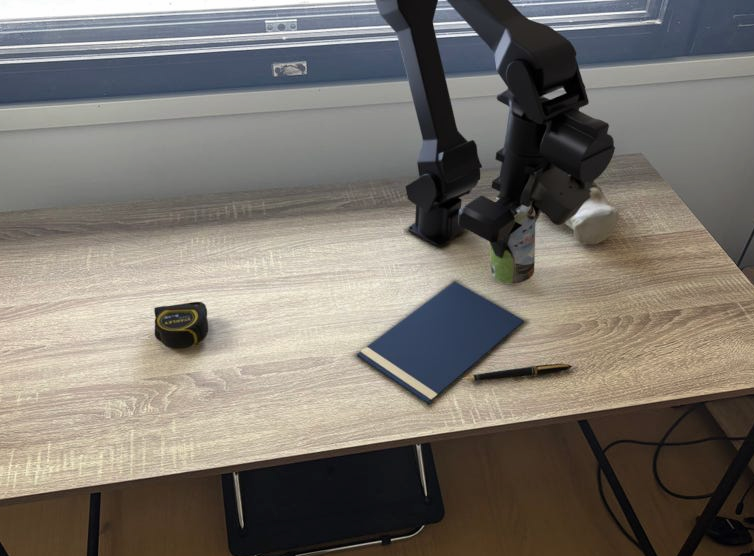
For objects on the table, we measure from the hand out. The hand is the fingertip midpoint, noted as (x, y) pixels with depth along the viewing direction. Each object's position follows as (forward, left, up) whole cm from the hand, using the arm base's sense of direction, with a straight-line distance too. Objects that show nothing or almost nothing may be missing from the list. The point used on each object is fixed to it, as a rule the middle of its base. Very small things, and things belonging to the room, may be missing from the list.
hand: (510, 247), depth 100 cm
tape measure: (-25, -39, -6) cm, 46 cm away
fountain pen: (+12, -14, -6) cm, 20 cm away
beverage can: (0, 0, -5) cm, 5 cm away
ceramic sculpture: (0, +18, -6) cm, 19 cm away
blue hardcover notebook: (+1, -16, -6) cm, 17 cm away
